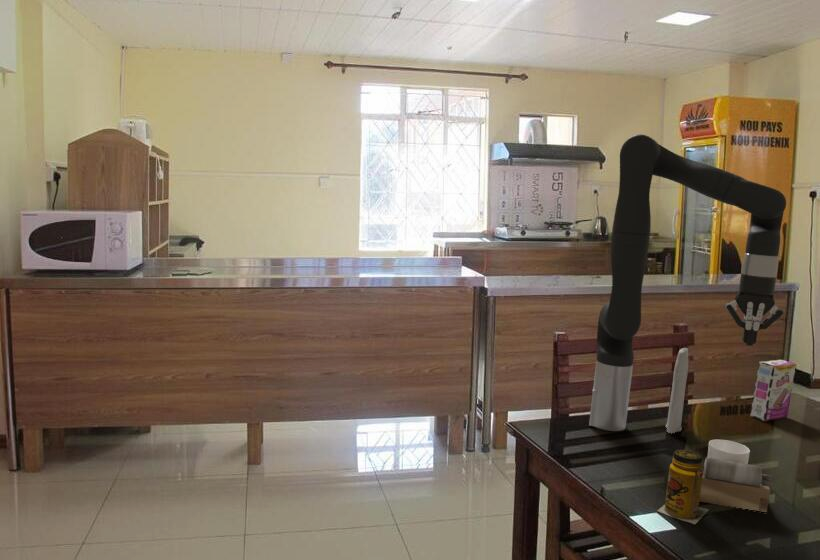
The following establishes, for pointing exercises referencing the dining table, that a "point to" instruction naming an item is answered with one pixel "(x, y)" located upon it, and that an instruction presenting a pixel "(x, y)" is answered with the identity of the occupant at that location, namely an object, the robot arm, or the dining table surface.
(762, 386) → the candy bar box
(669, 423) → the tall pale column
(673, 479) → the condiment
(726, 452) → the white cup
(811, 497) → the dining table surface
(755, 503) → the bay
